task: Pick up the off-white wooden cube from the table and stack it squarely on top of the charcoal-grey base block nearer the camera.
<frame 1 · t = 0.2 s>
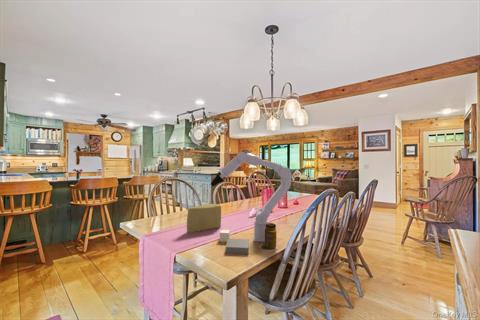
hand: (212, 183, 126), 31 cm above the table, tool tilted 45°, fingers open, 7 cm apart
condiment: (269, 248, 114), on the table
cube: (224, 240, 123), on the table
base: (237, 248, 112), on the table
olive rectangular box: (203, 229, 141), on the table
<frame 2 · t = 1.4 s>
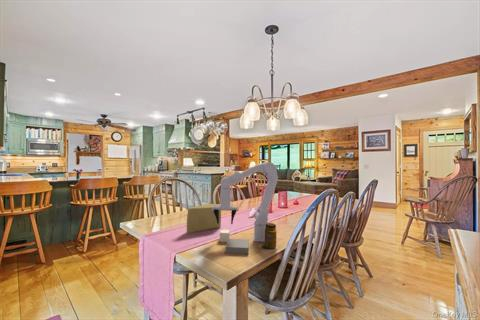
hand: (225, 223, 123), 9 cm above the table, tool pointing down, fingers open, 7 cm apart
nothing on the table moved.
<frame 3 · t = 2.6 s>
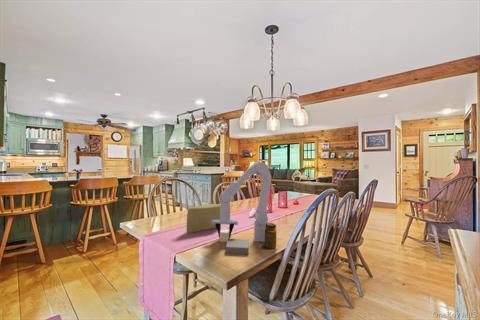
hand: (224, 237, 123), 2 cm above the table, tool pointing down, fingers closed on cube, 5 cm apart
cube: (224, 240, 123), on the table, touching gripper
everything else where it was.
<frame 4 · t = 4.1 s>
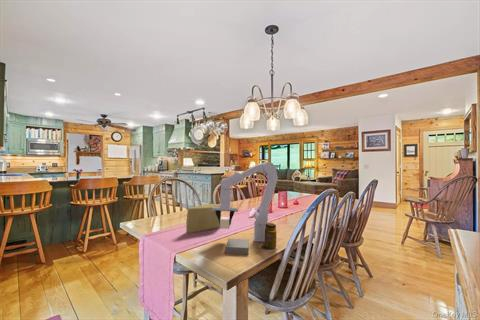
hand: (225, 224, 123), 9 cm above the table, tool pointing down, fingers closed on cube, 5 cm apart
cube: (225, 227, 123), point 7 cm above the table, touching gripper
everything else where it was.
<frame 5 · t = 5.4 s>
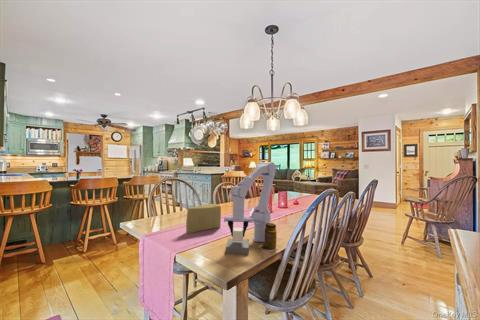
hand: (238, 236, 112), 7 cm above the table, tool pointing down, fingers closed on cube, 5 cm apart
cube: (237, 239, 112), point 5 cm above the table, touching gripper
everything else where it was.
when the fingers open (6 cm above the table, at t = 5.9 s): cube drops 2 cm, resting on base.
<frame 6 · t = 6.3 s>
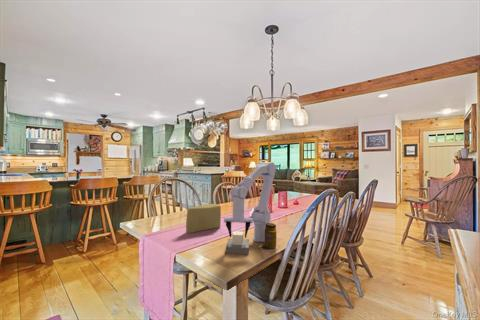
hand: (238, 236, 112), 6 cm above the table, tool pointing down, fingers open, 7 cm apart
cube: (237, 242, 112), point 3 cm above the table, touching base
everything else where it was.
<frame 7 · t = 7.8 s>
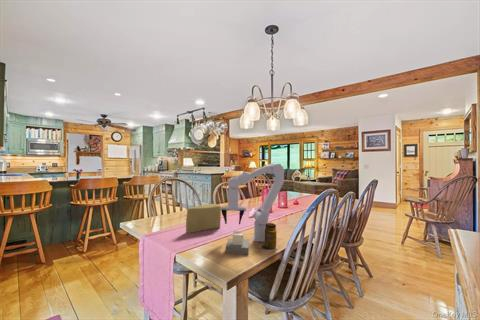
hand: (232, 223, 123), 9 cm above the table, tool pointing down, fingers open, 7 cm apart
nothing on the table moved.
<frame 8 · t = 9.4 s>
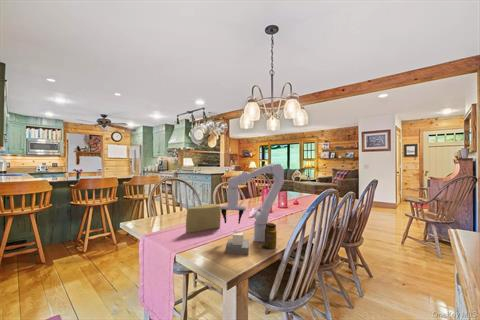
hand: (232, 222, 124), 9 cm above the table, tool pointing down, fingers open, 7 cm apart
nothing on the table moved.
at the end: cube 0.0 cm off-centre on the base, point 3.0 cm above the base's base; cube tilted 0°; the gripper is holding nothing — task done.
